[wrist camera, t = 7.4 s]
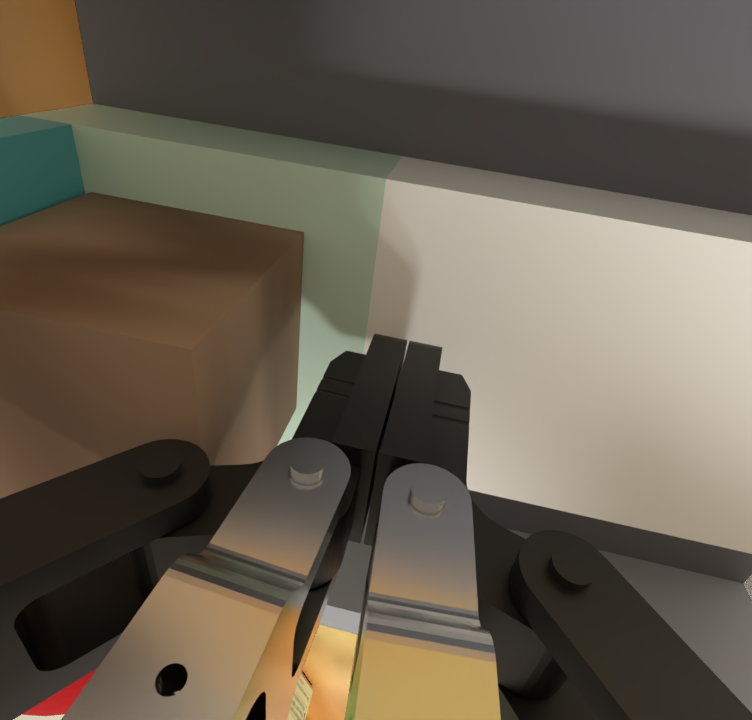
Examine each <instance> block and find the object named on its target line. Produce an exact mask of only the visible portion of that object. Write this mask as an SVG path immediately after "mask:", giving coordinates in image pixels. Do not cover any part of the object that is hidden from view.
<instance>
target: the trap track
mask: <svg viewBox="0 0 752 720" xmlns="http://www.w3.org/2000/svg"><path fill="white" fill-rule="evenodd" d="M75 4H76V10H77V15H78V21H79V27H80V32H81V38H82V44H83V49H84V55H85V61H86V66H87V72H88V78H89V83H90V89H91V94H92V100H93V104H88V105H81V106H75V107H68V108H62V109H55V110H49V111H43V112H36V113H30V114H23V115H17V116H10V117H4V118H0V226H3V225H5V224H8V223H11V222H13V221H16V220H18V219H21V218H24V217H26V216H29V215H32V214H34V213H37V212H40V211H42V210H45V209H48V208H50V207H53V206H56V205H58V204H61V203H63V202H66V201H69V200H71V199H74V198H77V197H79V196H82V195H85V194H87V193H90V192H95V193H100V194H105V195H110V196H116V197H121V198H126V199H132V200H137V201H142V202H148V203H153V204H158V205H164V206H169V207H174V208H179V209H185V210H190V211H195V212H201V213H206V214H211V215H217V216H222V217H227V218H233V219H238V220H243V221H248V222H254V223H259V224H264V225H270V226H275V227H280V228H286V229H291V230H296V231H301V232H304V246H303V269H302V292H301V315H300V337H299V360H298V383H297V405H296V410H295V412H294V414H293V416H292V418H291V420H290V422H289V424H288V425H287V427H286V429H285V431H284V433H283V435H282V437H281V439H280V441H279V443H278V445H279V444H281V443H283V442H286V441H288V440H291V439H292V438H293V436H294V434H295V432H296V430H297V428H298V426H299V424H300V422H301V420H302V418H303V416H304V414H305V412H306V410H307V408H308V406H309V404H310V402H311V400H312V398H313V396H314V394H315V392H316V391H317V388H318V386H319V384H320V382H321V380H322V379H323V376H324V374H325V372H326V369H327V367H328V365H329V363H330V361H332V360H333V359H335V358H336V357H338V356H339V355H341V354H342V353H343V352H345V351H351V352H356V353H360V354H365V355H366V353H367V351H368V348H369V346H370V343H371V341H372V338H373V336H374V334H380V335H385V336H390V337H395V338H399V339H404V340H407V346H406V352H407V348H408V345H409V341H414V342H419V343H424V344H429V345H434V346H439V347H442V354H441V360H440V367H439V370H441V371H446V372H451V373H455V374H460V375H462V376H463V378H464V379H465V381H466V383H467V385H468V387H469V389H470V390H471V403H470V422H469V441H468V459H467V478H466V479H467V488H468V492H469V494H470V496H471V498H472V500H473V502H474V503H475V505H476V506H477V507H478V508H479V509H480V511H481V512H483V513H484V514H485V515H486V516H487V517H488V518H489V519H491V520H492V521H493V522H495V523H497V524H498V525H500V526H502V527H504V528H506V529H507V530H509V531H511V532H513V533H515V534H517V535H519V536H521V537H523V538H524V539H527V538H528V537H529V536H530V535H532V534H534V533H536V532H539V531H544V530H558V531H563V532H567V533H570V534H573V535H575V536H577V537H579V538H581V539H583V540H585V541H586V542H588V543H589V544H591V545H592V546H593V547H595V548H596V549H597V550H598V551H599V552H600V553H601V554H602V555H603V556H604V557H605V558H606V559H607V560H608V561H609V562H610V563H611V564H612V565H613V566H614V567H615V568H616V569H617V570H618V572H619V573H620V574H621V575H622V576H623V577H624V578H625V579H626V580H627V581H628V582H629V583H630V584H631V585H632V586H633V587H634V589H635V590H636V591H637V592H638V593H639V594H640V595H641V596H642V597H643V598H644V599H645V600H646V601H647V602H648V603H649V604H650V606H651V607H652V608H653V609H654V610H655V611H656V612H657V613H658V614H659V615H660V616H661V617H662V618H663V619H664V620H665V621H666V623H667V624H668V625H669V626H670V627H671V628H672V629H673V630H674V631H675V632H676V633H677V634H678V635H679V636H680V637H681V638H682V640H683V641H684V642H685V643H686V644H687V645H688V646H689V647H690V648H691V649H692V650H693V651H694V652H695V653H696V654H697V655H698V657H699V658H700V659H701V660H702V661H703V662H704V663H705V664H706V665H707V666H708V667H709V668H710V669H711V670H712V671H713V672H714V674H715V675H716V676H717V677H718V678H719V679H720V680H721V681H722V682H723V683H724V684H725V685H726V686H727V687H728V688H729V689H730V691H731V692H732V693H733V694H734V695H735V696H736V697H737V698H738V699H739V700H740V701H741V702H742V703H743V704H744V705H745V706H746V708H747V709H748V710H749V711H750V712H751V713H752V602H751V599H750V597H749V595H748V593H747V591H746V589H745V587H744V585H743V582H744V581H745V580H746V579H747V578H748V577H749V576H750V575H751V574H752V0H75ZM406 352H405V356H406ZM404 359H405V357H404ZM403 363H404V362H403ZM278 445H277V446H278ZM369 509H370V507H369ZM368 515H369V511H368ZM368 515H367V519H366V523H365V527H364V531H363V535H362V538H361V542H360V543H356V542H352V541H348V543H347V547H346V550H345V554H344V557H343V561H342V564H341V566H340V569H339V570H338V572H337V577H336V581H335V584H334V586H333V589H332V592H331V594H330V597H329V600H328V602H327V605H326V608H325V610H324V613H323V616H322V618H321V621H320V624H319V625H323V626H327V627H331V628H335V629H338V630H342V631H346V632H350V633H354V634H357V633H358V626H359V619H360V613H361V606H362V599H363V592H364V586H365V581H366V576H367V571H368V565H369V560H370V555H371V550H372V546H369V545H365V544H363V543H364V538H365V532H366V526H367V521H368Z"/></svg>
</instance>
